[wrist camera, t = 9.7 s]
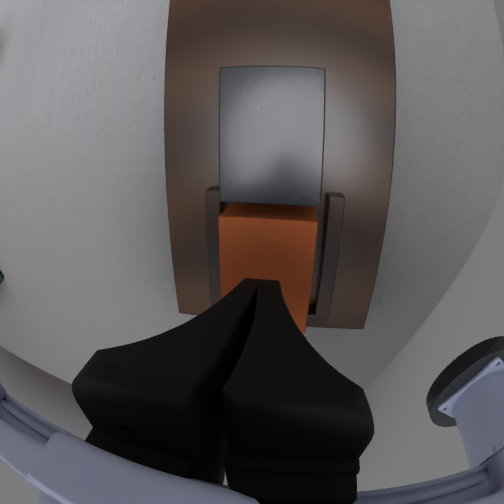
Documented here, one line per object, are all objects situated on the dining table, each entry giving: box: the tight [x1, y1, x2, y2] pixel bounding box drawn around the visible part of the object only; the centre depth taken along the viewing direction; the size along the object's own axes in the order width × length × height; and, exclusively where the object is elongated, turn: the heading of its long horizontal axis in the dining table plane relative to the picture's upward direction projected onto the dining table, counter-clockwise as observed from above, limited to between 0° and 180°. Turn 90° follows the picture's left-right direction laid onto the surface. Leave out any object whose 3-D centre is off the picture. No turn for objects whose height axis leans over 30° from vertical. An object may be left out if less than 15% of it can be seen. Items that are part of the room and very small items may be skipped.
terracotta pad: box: [219, 202, 318, 333], centre depth 14 cm, size 6×4×4 cm
